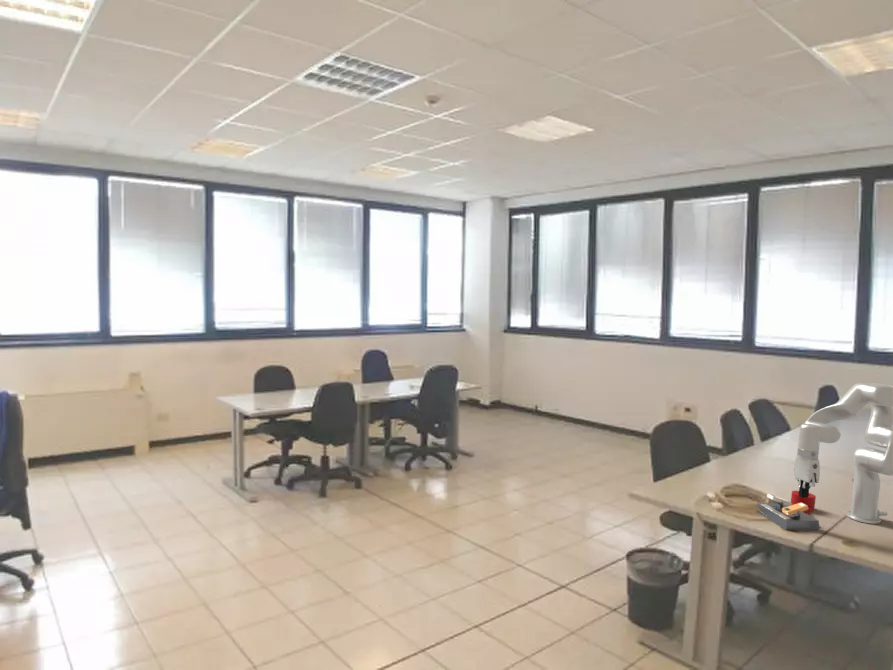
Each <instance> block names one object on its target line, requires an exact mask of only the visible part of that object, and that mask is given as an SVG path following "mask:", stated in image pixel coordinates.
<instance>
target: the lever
mask: <svg viewBox="0 0 893 670" xmlns="http://www.w3.org/2000/svg"><path fill="white" fill-rule="evenodd" d="M816 498H817V496H816V495H815V494H813V493H811V492H809V495H808V498H806V497H800V496H799V490H792V491H791V496H790V502H791V505H794V504H798V503H801V502H802V503H804V504H805V505H807V506H808V510H805V511H802V512H804V513H806V514H807V515H809V514H811V513H813V512H815V508H816V507H815V505H816Z"/></svg>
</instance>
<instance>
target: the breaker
mask: <svg viewBox="0 0 893 670" xmlns="http://www.w3.org/2000/svg"><path fill="white" fill-rule="evenodd" d="M766 498H767V499H770V500H772V501H773V502H774V501H777V502H779V503H781V504H785V505H788V506H791V501H789V500H787V499H785V498H781V497H779V496H776V495H774V494H770V493H767V495H766Z"/></svg>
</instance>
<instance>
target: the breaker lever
mask: <svg viewBox="0 0 893 670" xmlns="http://www.w3.org/2000/svg"><path fill="white" fill-rule="evenodd" d="M805 510H808V506H807V505H805V504H804V503H802V502H801V503H798V504H794V505H791V506H788V507H785V508H782V512H783V513H785V514H787V515H792V514H795V513H800V512H802V511H805Z"/></svg>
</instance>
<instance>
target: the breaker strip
mask: <svg viewBox="0 0 893 670" xmlns="http://www.w3.org/2000/svg"><path fill="white" fill-rule="evenodd" d="M757 507H758V508H759V509H760V510H761V511H762V512H763V513H764V514H763V513H761V512H760V511H758V510H757V509H756V513H757V514H759V515H761V516H762V517H764V518H766V519H767V520H768V521H771V522H772V523H774V524H776V525H777V526H779V527H780V528H782V529H784V530H785V531H819V526H818V524H819V525H820V520H818V519H817V518H815V517H813V516H811V515H809V514H806V513H804V512H800V513H795V514H792V515H787V514H785V513H783V512H782V508H785V507H788V505H785V504H781V503H779V502H777V501H774V500H773V503H770V502H768V503H766V502H765V503H764V502H757V506H756V508H757ZM766 515H767V516H766Z"/></svg>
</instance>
